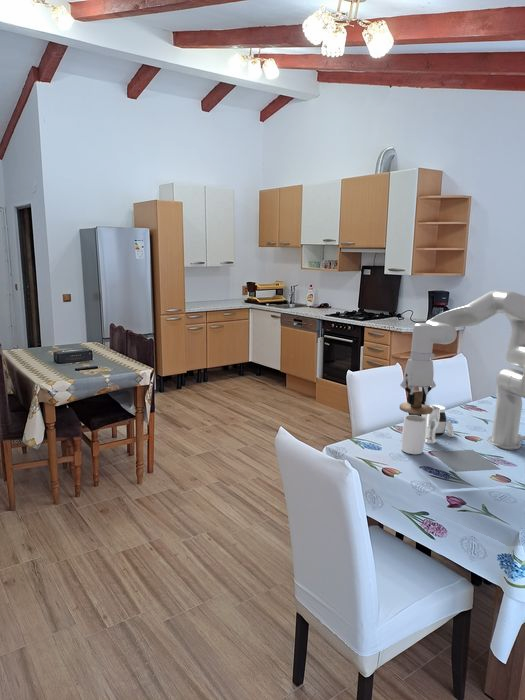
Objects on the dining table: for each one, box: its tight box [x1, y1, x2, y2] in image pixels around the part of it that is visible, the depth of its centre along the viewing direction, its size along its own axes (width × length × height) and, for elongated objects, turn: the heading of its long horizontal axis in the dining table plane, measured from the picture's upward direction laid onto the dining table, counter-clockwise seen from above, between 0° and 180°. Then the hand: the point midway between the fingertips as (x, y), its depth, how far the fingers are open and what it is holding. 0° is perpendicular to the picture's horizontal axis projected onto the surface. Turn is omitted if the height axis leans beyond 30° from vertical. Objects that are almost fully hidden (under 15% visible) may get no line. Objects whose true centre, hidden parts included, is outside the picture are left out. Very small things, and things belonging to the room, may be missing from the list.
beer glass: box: [421, 404, 440, 444], centre depth 210 cm, size 7×7×15 cm
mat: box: [430, 449, 501, 473], centre depth 193 cm, size 18×18×1 cm
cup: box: [401, 414, 426, 455], centre depth 198 cm, size 8×8×14 cm
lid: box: [399, 389, 433, 416], centre depth 196 cm, size 12×12×7 cm
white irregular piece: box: [433, 404, 454, 438], centre depth 221 cm, size 12×11×12 cm
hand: (416, 403), depth 196 cm, fingers closed on lid, 4 cm apart
